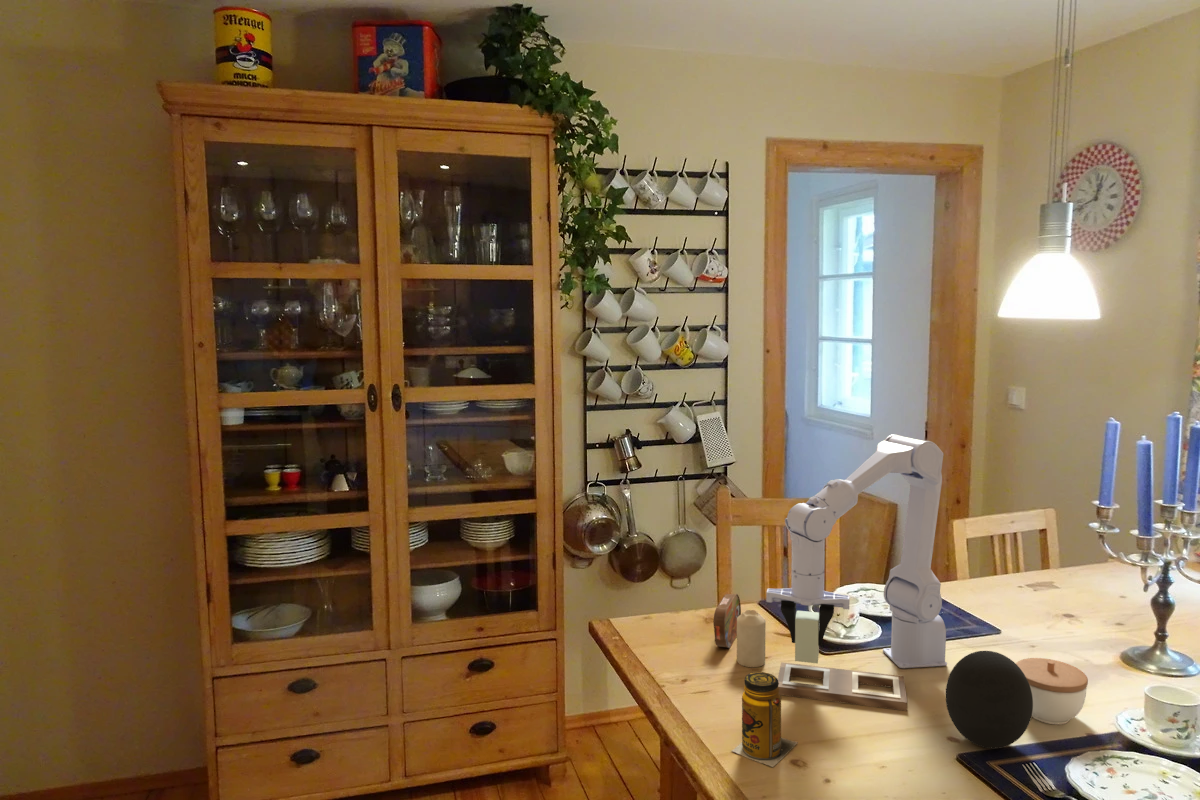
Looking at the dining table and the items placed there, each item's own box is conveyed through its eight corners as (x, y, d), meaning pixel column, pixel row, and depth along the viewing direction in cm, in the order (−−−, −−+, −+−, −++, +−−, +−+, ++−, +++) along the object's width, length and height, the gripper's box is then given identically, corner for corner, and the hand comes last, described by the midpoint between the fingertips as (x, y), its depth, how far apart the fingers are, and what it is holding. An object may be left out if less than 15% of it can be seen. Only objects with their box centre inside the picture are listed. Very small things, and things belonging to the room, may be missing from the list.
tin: (726, 655, 161) (726, 614, 160) (711, 652, 162) (711, 612, 161) (742, 626, 175) (742, 588, 174) (728, 624, 176) (728, 587, 175)
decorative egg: (949, 716, 136) (952, 631, 134) (1032, 735, 130) (1036, 646, 128) (938, 752, 126) (942, 661, 124) (1028, 774, 119) (1033, 678, 117)
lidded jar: (1084, 738, 129) (1087, 683, 127) (1009, 721, 134) (1012, 667, 133) (1086, 709, 138) (1089, 656, 136) (1015, 693, 143) (1018, 643, 142)
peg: (818, 654, 149) (819, 612, 148) (817, 663, 145) (818, 621, 144) (796, 651, 150) (796, 610, 149) (795, 661, 146) (795, 618, 145)
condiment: (731, 752, 127) (731, 680, 126) (757, 729, 133) (758, 660, 132) (772, 768, 122) (773, 694, 121) (798, 744, 129) (799, 673, 127)
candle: (765, 668, 155) (765, 619, 154) (736, 666, 156) (736, 617, 155) (765, 656, 160) (765, 608, 159) (737, 654, 161) (737, 606, 160)
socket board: (903, 683, 148) (903, 675, 147) (906, 710, 138) (907, 701, 138) (781, 669, 154) (781, 661, 154) (776, 694, 145) (776, 685, 145)
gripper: (764, 574, 144) (764, 646, 145) (849, 581, 139) (848, 656, 141) (768, 561, 150) (768, 631, 152) (850, 568, 146) (848, 639, 148)
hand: (807, 642), depth 147 cm, fingers closed on peg, 4 cm apart
